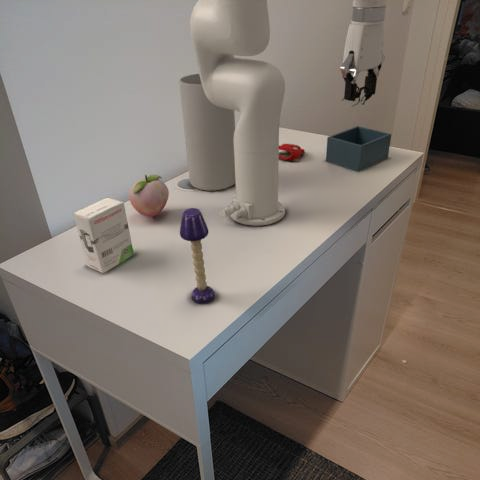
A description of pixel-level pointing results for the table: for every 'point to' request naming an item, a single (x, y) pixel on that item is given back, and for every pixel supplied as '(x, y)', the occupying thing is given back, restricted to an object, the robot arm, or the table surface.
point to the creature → (367, 95)
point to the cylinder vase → (207, 137)
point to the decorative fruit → (149, 195)
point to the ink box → (104, 234)
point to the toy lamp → (197, 251)
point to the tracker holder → (291, 151)
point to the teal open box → (358, 148)
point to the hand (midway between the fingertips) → (359, 96)
